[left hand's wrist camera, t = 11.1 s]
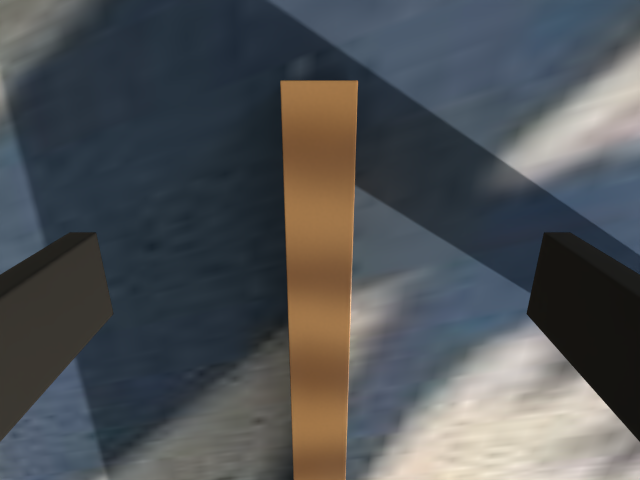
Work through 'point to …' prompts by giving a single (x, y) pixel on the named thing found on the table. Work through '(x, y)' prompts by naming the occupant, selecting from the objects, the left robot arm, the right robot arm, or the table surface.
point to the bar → (319, 266)
